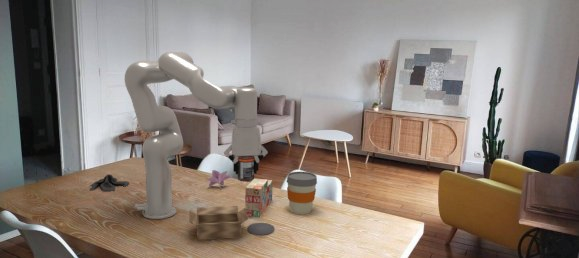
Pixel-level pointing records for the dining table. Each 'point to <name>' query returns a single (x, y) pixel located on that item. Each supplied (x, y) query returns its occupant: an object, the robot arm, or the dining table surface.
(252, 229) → the coaster
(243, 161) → the supplement bottle
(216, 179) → the lily
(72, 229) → the dining table surface
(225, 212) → the carton
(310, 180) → the reusable coffee cup
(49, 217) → the dining table surface
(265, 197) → the stack of blocks
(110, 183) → the cloth
